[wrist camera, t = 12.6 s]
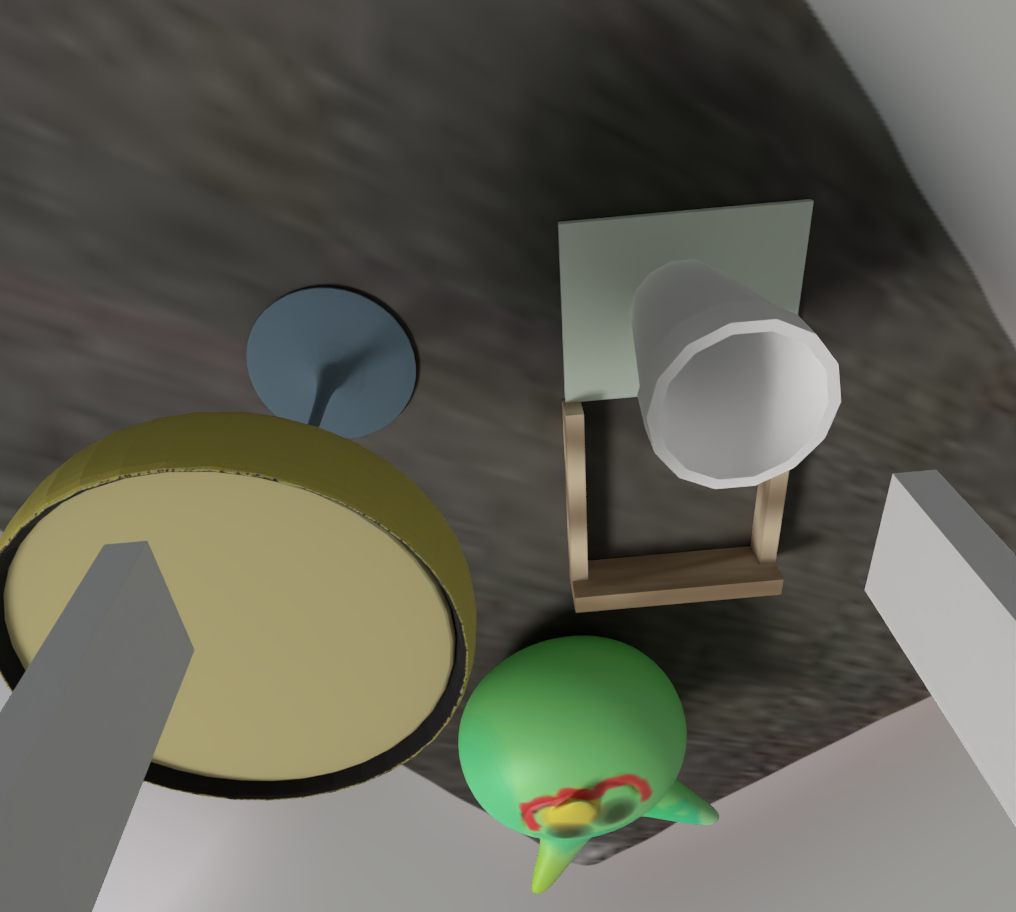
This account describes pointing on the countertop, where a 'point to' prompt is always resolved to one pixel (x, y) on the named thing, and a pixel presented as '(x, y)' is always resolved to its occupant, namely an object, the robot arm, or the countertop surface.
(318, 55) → the countertop surface
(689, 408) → the foam cup
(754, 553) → the wooden u-shaped frame
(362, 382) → the cocktail glass
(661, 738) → the toy bird
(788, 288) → the pad
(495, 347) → the countertop surface
